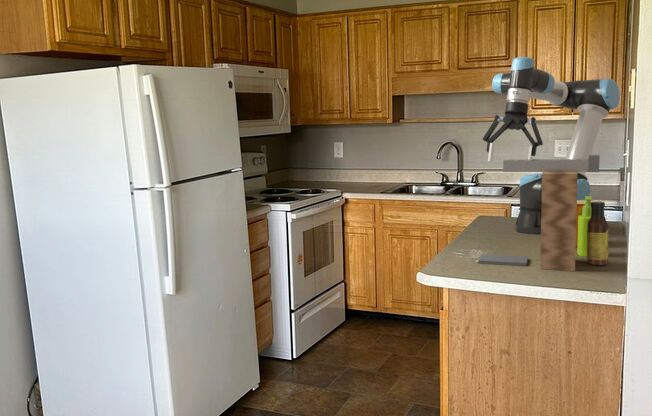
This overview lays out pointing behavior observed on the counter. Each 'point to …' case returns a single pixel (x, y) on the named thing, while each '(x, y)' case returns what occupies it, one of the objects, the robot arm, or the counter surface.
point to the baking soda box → (579, 212)
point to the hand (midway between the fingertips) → (509, 163)
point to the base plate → (503, 260)
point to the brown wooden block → (558, 220)
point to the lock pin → (552, 165)
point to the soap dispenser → (583, 227)
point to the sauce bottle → (597, 235)
